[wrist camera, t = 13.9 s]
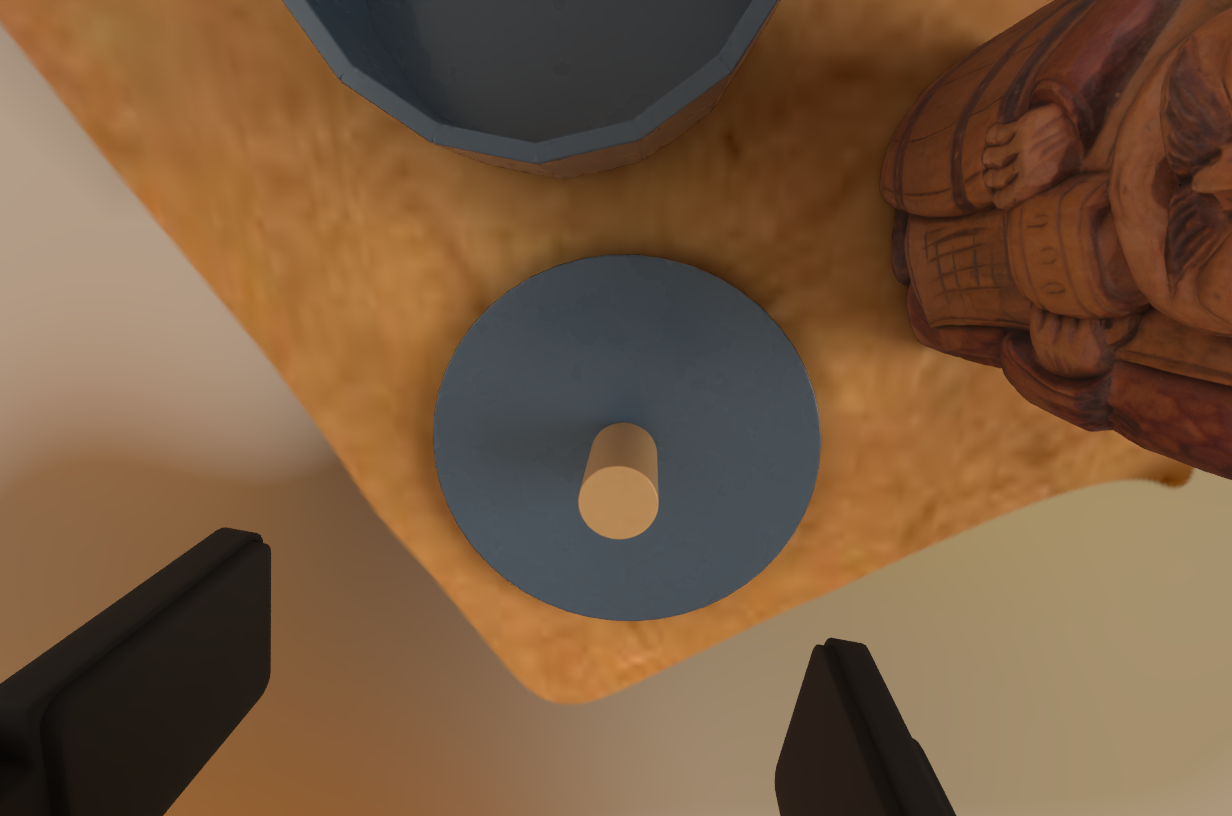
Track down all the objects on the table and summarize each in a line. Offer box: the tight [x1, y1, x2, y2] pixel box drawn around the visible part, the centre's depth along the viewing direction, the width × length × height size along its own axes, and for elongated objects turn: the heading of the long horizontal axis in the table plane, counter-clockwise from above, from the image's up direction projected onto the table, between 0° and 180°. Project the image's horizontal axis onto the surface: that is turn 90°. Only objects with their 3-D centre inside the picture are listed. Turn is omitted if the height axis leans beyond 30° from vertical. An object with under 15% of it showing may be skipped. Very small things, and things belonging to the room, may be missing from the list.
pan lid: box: [433, 254, 821, 621], centre depth 25 cm, size 16×16×6 cm
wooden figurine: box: [880, 0, 1232, 480], centre depth 16 cm, size 12×6×18 cm, turn 14°
